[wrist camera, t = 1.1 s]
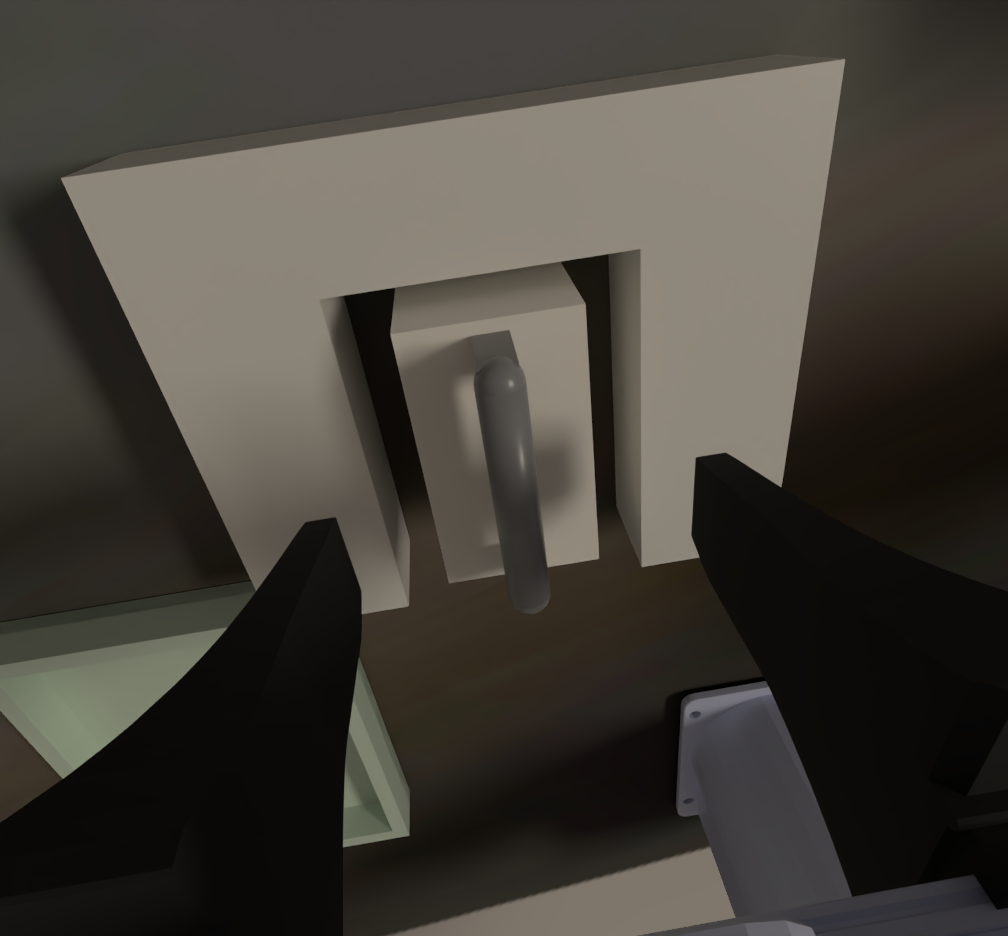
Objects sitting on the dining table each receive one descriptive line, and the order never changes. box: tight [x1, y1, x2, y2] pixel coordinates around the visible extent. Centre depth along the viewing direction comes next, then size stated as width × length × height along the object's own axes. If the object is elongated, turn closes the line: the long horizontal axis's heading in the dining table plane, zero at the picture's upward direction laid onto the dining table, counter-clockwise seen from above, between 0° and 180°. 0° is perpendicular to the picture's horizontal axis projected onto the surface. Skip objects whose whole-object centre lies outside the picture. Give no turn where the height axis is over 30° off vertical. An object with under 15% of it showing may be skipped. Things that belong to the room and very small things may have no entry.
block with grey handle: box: [390, 262, 599, 614], centre depth 16 cm, size 7×4×6 cm, turn 7°
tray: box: [0, 581, 410, 847], centre depth 25 cm, size 14×11×2 cm
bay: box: [61, 55, 845, 614], centre depth 17 cm, size 12×15×3 cm
